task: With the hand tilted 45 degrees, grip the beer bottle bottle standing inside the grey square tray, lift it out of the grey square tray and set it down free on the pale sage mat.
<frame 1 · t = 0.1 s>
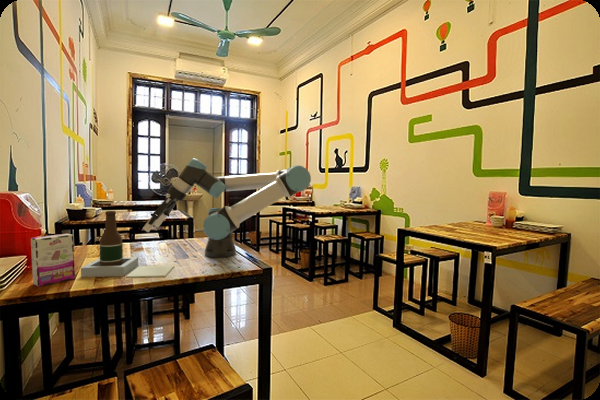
hand: (150, 228, 138), 15 cm above the table, tool tilted 35°, fingers open, 13 cm apart
grey square tray: (111, 270, 125), on the table
beer bottle: (111, 271, 125), on the table
mat: (151, 271, 124), on the table
candy bar box: (54, 282, 111), on the table
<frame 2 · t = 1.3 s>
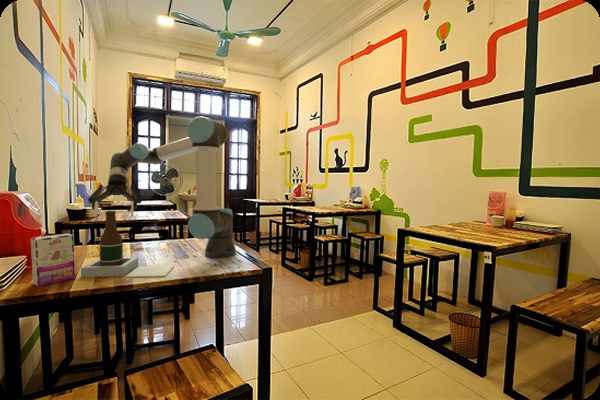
hand: (113, 214, 133), 21 cm above the table, tool tilted 45°, fingers open, 13 cm apart
nothing on the table moved.
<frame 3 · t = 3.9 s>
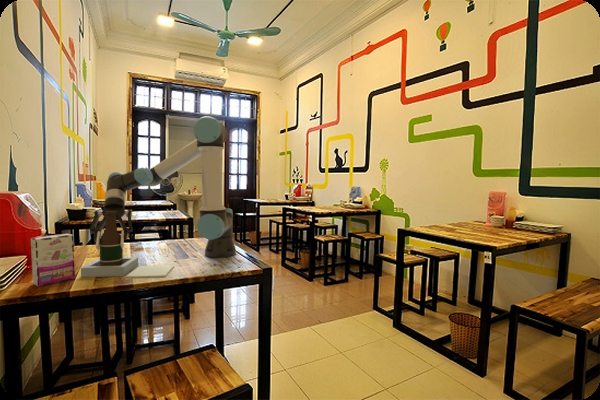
hand: (109, 246, 121), 11 cm above the table, tool tilted 45°, fingers closed on beer bottle, 7 cm apart
beer bottle: (111, 271, 125), on the table, touching gripper
everything else where it was.
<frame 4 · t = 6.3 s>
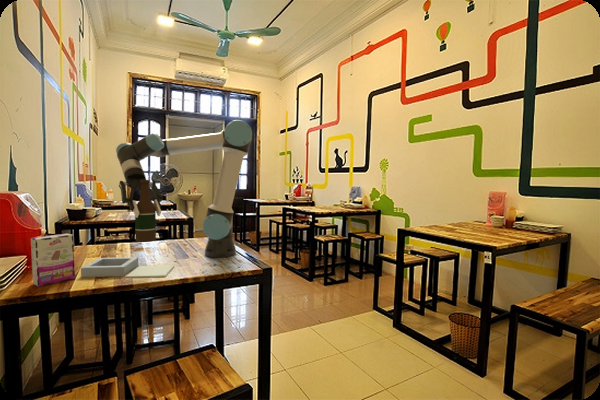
hand: (148, 214, 121), 23 cm above the table, tool tilted 45°, fingers closed on beer bottle, 7 cm apart
beer bottle: (145, 240, 124), point 12 cm above the table, touching gripper
everything else where it was.
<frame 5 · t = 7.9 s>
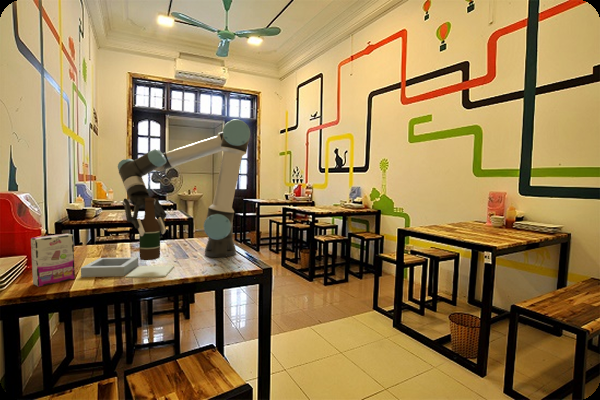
hand: (153, 232, 121), 16 cm above the table, tool tilted 45°, fingers closed on beer bottle, 7 cm apart
beer bottle: (149, 258, 124), point 5 cm above the table, touching gripper
everything else where it was.
when the fingers open (12 cm above the table, at t = 9.1 s): beer bottle stays where it is, resting on mat.
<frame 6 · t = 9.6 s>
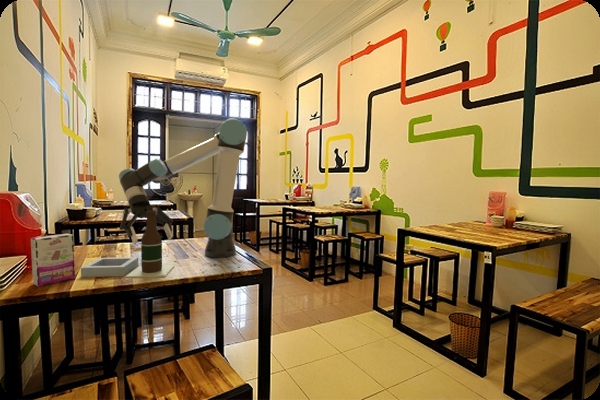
hand: (154, 240, 122), 13 cm above the table, tool tilted 45°, fingers open, 13 cm apart
beer bottle: (151, 270, 124), resting on mat
everything else where it was.
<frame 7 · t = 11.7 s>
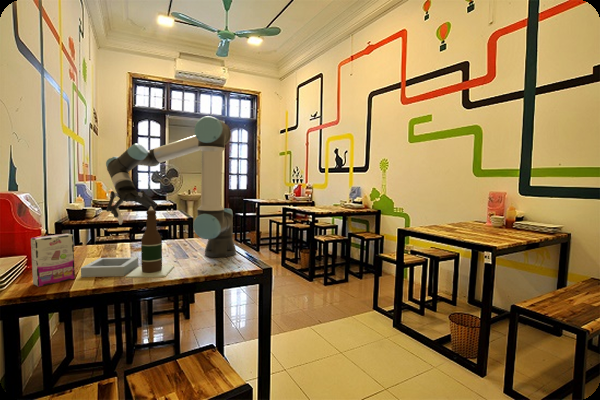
hand: (138, 221, 131), 19 cm above the table, tool tilted 45°, fingers open, 13 cm apart
nothing on the table moved.
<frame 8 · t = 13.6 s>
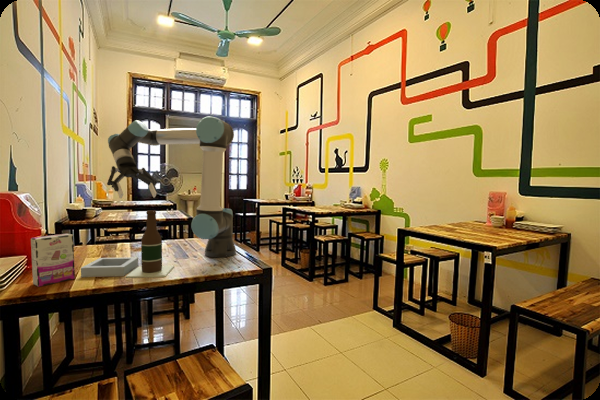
hand: (138, 195, 133), 30 cm above the table, tool tilted 45°, fingers open, 13 cm apart
nothing on the table moved.
at the end: beer bottle inside the target area on the mat (0.1 cm from its centre), point 0.4 cm above the mat's base; beer bottle tilted 0°; the gripper is holding nothing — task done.
